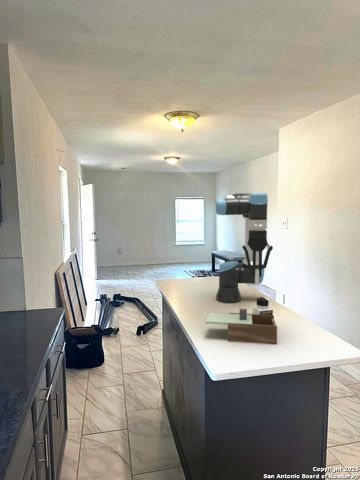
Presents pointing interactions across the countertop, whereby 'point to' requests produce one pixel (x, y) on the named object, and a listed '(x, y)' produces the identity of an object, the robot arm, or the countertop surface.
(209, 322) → the lid
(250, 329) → the box
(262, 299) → the medicine bottle
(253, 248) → the robot arm
